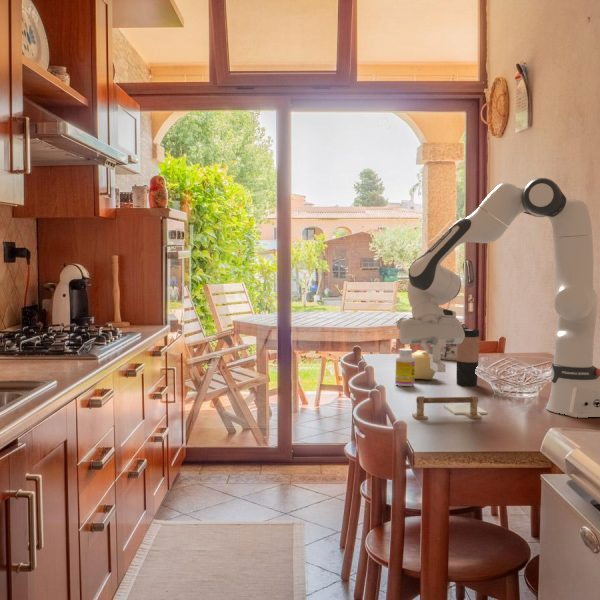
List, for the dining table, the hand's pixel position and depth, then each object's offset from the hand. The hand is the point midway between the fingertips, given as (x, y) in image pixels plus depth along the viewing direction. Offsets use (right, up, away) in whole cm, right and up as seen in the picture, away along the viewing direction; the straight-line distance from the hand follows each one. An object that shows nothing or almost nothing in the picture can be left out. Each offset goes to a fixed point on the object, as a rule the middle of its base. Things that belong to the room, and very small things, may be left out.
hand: (436, 353), depth 222 cm
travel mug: (+18, -14, +39) cm, 45 cm away
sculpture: (+4, -13, +49) cm, 51 cm away
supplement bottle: (-4, -14, +36) cm, 39 cm away
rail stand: (+1, -18, -11) cm, 21 cm away
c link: (0, -5, -1) cm, 5 cm away
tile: (+8, -17, -2) cm, 19 cm away
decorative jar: (+25, -10, +99) cm, 103 cm away
